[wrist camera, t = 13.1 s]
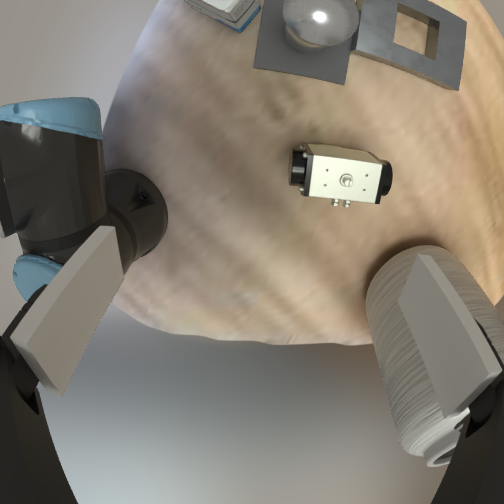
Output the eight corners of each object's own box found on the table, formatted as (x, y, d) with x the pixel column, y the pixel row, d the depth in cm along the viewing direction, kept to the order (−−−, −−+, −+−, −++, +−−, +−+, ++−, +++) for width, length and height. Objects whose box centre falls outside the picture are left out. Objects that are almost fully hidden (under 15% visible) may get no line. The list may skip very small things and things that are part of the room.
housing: (348, 52, 30) (355, 49, 27) (358, -18, 24) (365, -25, 21) (446, 89, 31) (458, 90, 28) (454, 24, 24) (466, 21, 21)
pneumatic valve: (288, 135, 37) (294, 155, 27) (369, 146, 37) (402, 170, 27) (285, 173, 40) (289, 206, 30) (363, 182, 40) (392, 216, 30)
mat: (253, 68, 33) (253, 67, 32) (266, -9, 26) (266, -10, 26) (343, 85, 33) (344, 85, 32) (355, 9, 27) (356, 8, 26)
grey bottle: (275, 52, 31) (277, 36, 20) (283, 8, 27) (288, -25, 16) (327, 62, 31) (353, 53, 20) (335, 18, 27) (362, -8, 16)
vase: (448, 302, 51) (509, 437, 23) (363, 329, 56) (395, 484, 28) (454, 219, 42) (568, 368, 13) (350, 248, 46) (413, 450, 18)
